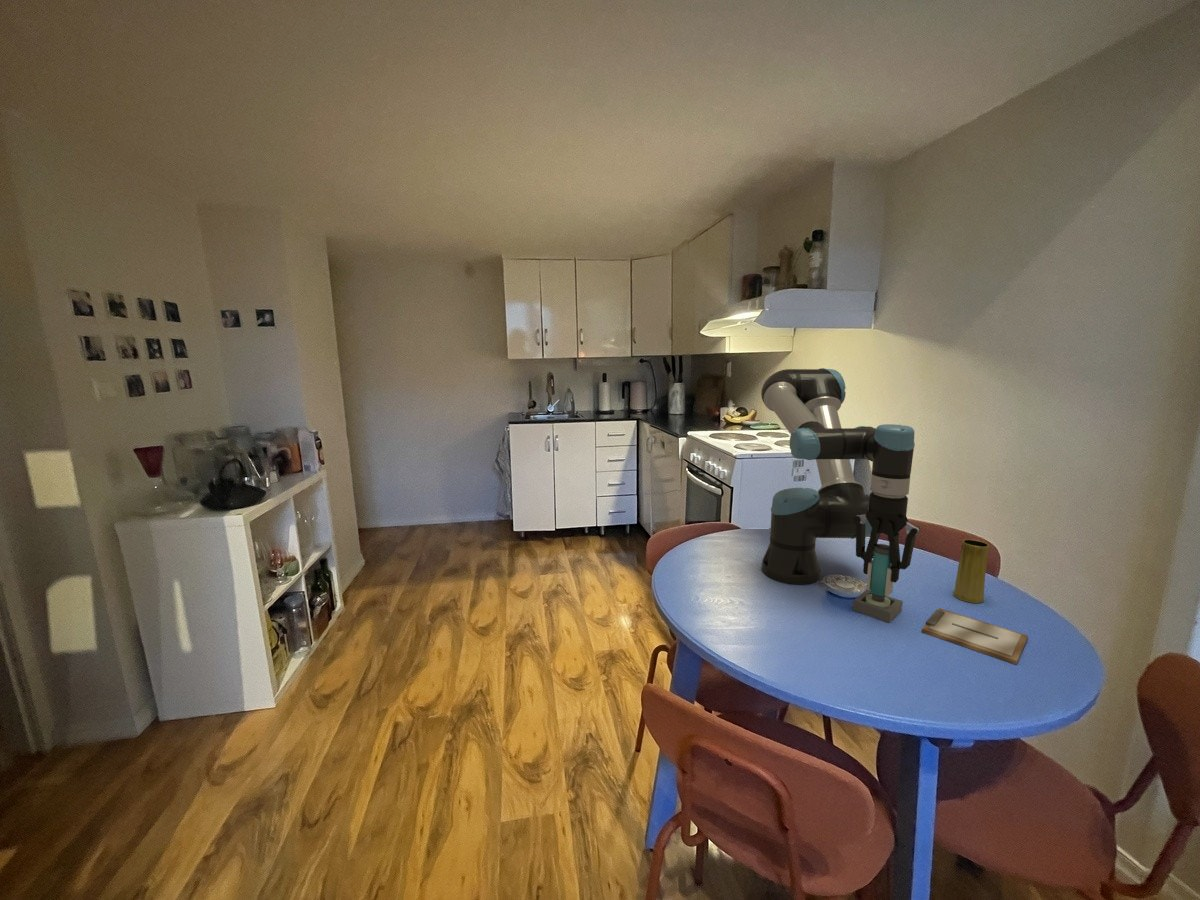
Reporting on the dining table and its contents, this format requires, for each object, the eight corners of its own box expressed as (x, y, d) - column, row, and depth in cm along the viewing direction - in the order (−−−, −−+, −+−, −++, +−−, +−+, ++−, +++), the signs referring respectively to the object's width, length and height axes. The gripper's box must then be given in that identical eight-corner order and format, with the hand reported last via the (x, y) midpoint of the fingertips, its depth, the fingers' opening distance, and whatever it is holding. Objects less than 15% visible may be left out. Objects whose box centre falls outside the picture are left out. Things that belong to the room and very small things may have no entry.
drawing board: (921, 632, 108) (922, 626, 107) (938, 611, 116) (939, 605, 116) (1016, 664, 96) (1017, 658, 96) (1027, 639, 105) (1028, 632, 104)
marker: (866, 599, 116) (872, 546, 114) (872, 594, 119) (877, 542, 116) (884, 604, 114) (890, 551, 111) (889, 599, 116) (894, 546, 114)
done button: (861, 609, 117) (862, 598, 117) (869, 602, 120) (870, 592, 120) (884, 617, 113) (886, 606, 113) (892, 610, 117) (893, 599, 116)
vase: (989, 604, 119) (997, 548, 116) (960, 602, 120) (967, 546, 118) (975, 592, 125) (983, 539, 122) (948, 590, 126) (955, 537, 124)
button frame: (852, 610, 117) (853, 600, 117) (865, 598, 122) (866, 589, 122) (889, 623, 111) (890, 612, 111) (901, 610, 117) (902, 600, 116)
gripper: (844, 490, 115) (836, 584, 119) (925, 504, 103) (913, 608, 108) (857, 484, 120) (849, 574, 124) (936, 497, 108) (924, 597, 112)
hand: (879, 590), depth 116 cm, fingers closed on marker, 3 cm apart
